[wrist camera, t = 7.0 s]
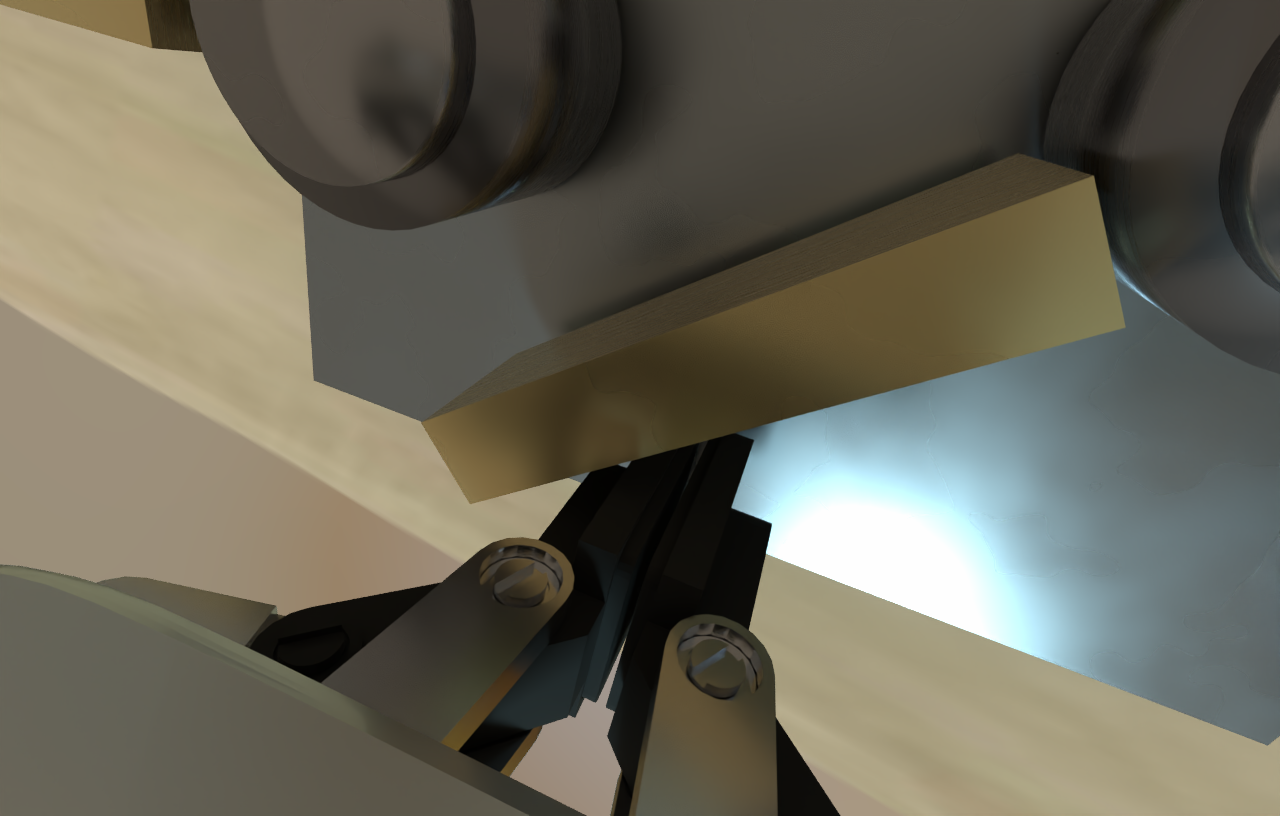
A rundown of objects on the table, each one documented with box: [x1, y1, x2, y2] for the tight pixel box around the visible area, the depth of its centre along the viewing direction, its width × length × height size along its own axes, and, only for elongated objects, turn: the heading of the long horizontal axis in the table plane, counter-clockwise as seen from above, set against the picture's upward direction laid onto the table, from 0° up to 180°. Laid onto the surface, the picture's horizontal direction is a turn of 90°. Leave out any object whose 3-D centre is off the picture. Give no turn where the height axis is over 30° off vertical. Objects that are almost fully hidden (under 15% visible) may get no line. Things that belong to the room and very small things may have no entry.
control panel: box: [302, 0, 1280, 745], centre depth 9 cm, size 20×13×4 cm, turn 77°
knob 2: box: [421, 0, 1280, 504], centre depth 7 cm, size 13×4×4 cm, turn 116°
